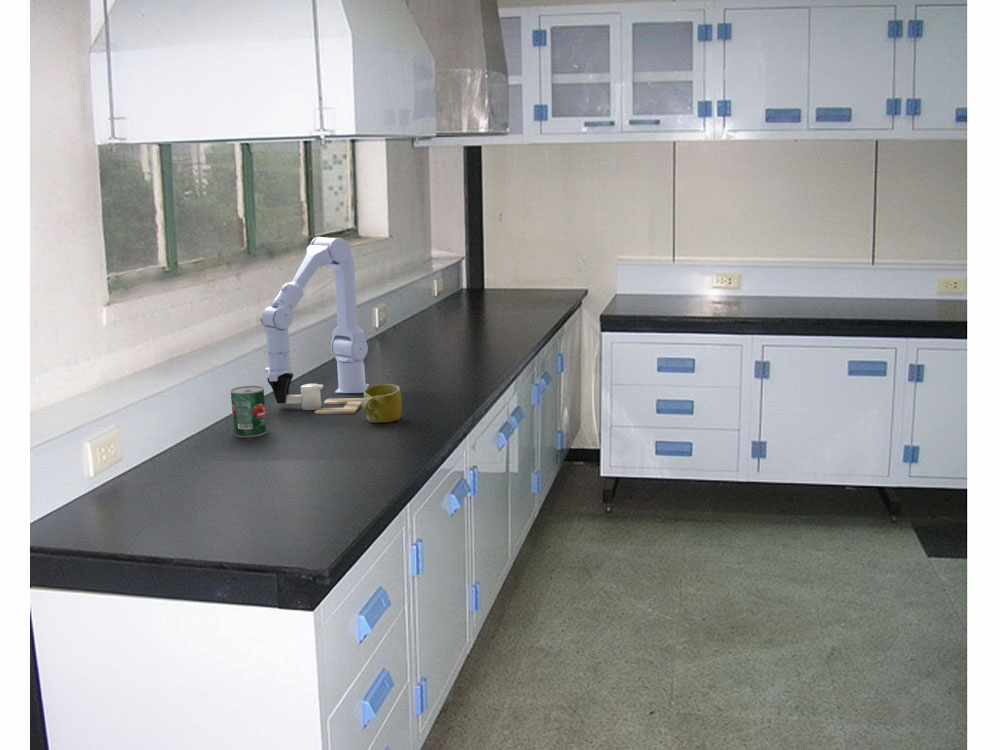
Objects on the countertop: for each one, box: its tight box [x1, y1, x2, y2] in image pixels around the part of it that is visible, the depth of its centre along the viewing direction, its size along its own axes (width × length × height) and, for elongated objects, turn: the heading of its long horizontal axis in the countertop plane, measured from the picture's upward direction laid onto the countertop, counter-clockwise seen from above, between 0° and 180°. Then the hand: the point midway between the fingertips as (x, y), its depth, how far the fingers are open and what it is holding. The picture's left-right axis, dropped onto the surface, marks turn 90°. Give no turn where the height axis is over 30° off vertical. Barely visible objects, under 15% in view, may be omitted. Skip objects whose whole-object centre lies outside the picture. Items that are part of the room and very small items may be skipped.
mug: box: [361, 383, 402, 424], centre depth 259 cm, size 12×10×10 cm
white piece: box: [285, 383, 324, 411], centre depth 275 cm, size 10×5×6 cm, turn 85°
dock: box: [314, 397, 364, 415], centre depth 275 cm, size 14×10×1 cm
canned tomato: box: [230, 385, 268, 438], centre depth 250 cm, size 8×8×11 cm
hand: (282, 402), depth 275 cm, fingers closed on white piece
